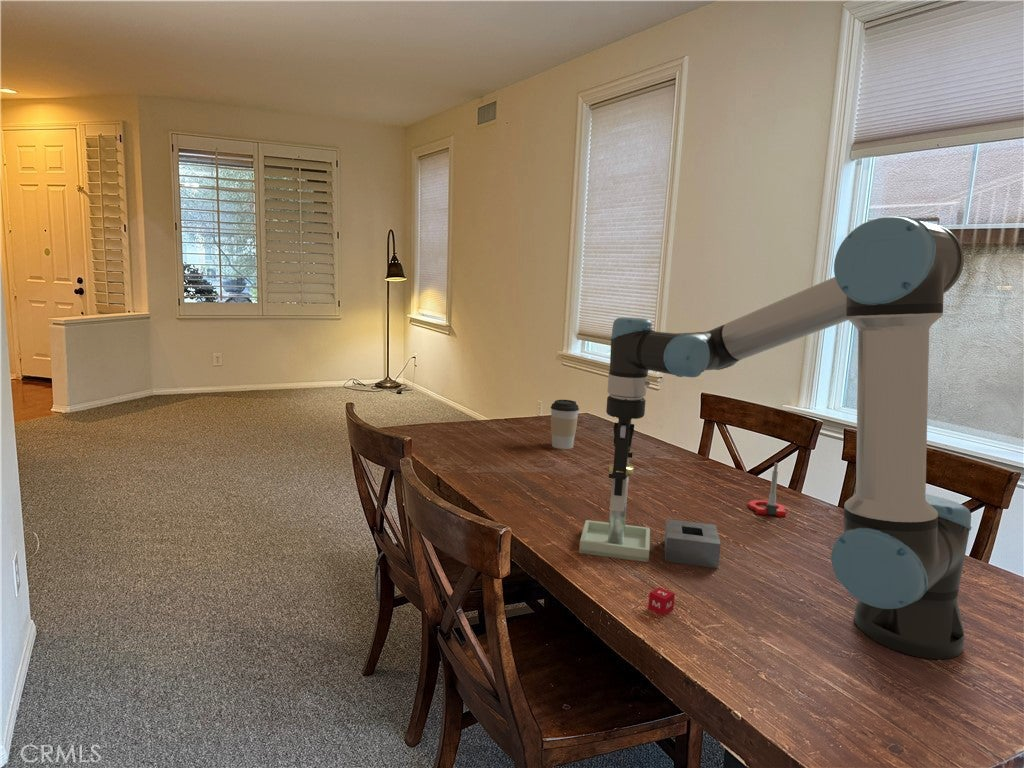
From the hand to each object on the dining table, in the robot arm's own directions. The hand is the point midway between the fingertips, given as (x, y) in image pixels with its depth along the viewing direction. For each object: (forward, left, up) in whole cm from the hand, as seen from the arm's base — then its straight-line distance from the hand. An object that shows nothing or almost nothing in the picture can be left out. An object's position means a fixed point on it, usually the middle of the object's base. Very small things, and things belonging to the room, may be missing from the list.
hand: (618, 498), depth 132 cm
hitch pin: (0, 0, -9) cm, 9 cm away
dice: (-24, -9, -10) cm, 27 cm away
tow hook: (+33, -35, -11) cm, 50 cm away
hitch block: (0, -15, -10) cm, 18 cm away
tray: (0, 0, -10) cm, 10 cm away
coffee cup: (+72, +21, -10) cm, 76 cm away
